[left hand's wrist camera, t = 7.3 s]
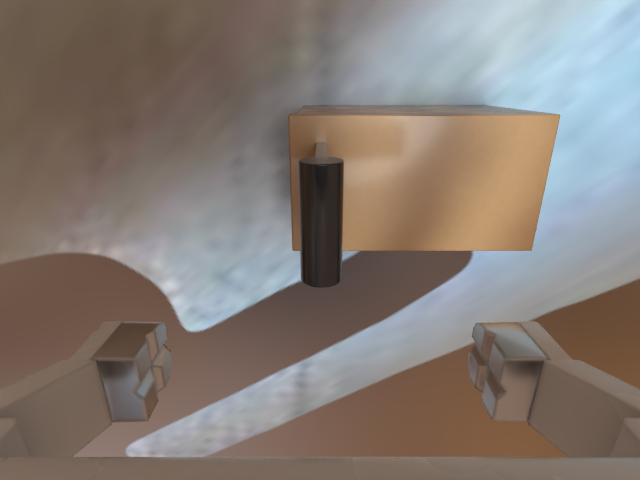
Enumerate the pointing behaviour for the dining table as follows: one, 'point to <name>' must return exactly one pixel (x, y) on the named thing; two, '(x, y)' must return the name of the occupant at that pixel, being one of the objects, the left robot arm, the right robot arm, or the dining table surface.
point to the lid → (414, 184)
